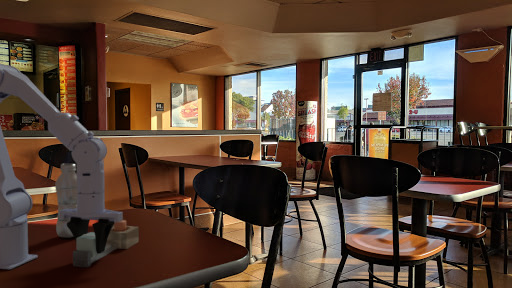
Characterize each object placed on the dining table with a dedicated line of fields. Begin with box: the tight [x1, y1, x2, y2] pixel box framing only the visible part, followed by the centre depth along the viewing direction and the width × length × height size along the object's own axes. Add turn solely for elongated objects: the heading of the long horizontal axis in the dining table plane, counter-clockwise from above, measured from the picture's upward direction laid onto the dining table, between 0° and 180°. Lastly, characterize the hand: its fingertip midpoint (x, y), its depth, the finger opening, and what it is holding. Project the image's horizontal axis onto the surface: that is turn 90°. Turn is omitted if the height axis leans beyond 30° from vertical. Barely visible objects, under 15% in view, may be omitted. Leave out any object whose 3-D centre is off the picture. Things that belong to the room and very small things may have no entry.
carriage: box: [75, 231, 106, 257], centre depth 87 cm, size 4×5×4 cm
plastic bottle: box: [54, 162, 77, 239], centre depth 104 cm, size 6×7×20 cm
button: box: [113, 219, 127, 232], centre depth 99 cm, size 3×3×4 cm
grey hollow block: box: [106, 225, 140, 250], centre depth 99 cm, size 7×6×4 cm
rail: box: [72, 242, 119, 268], centre depth 89 cm, size 4×13×3 cm, turn 169°
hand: (91, 251), depth 87 cm, fingers closed on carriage, 4 cm apart
